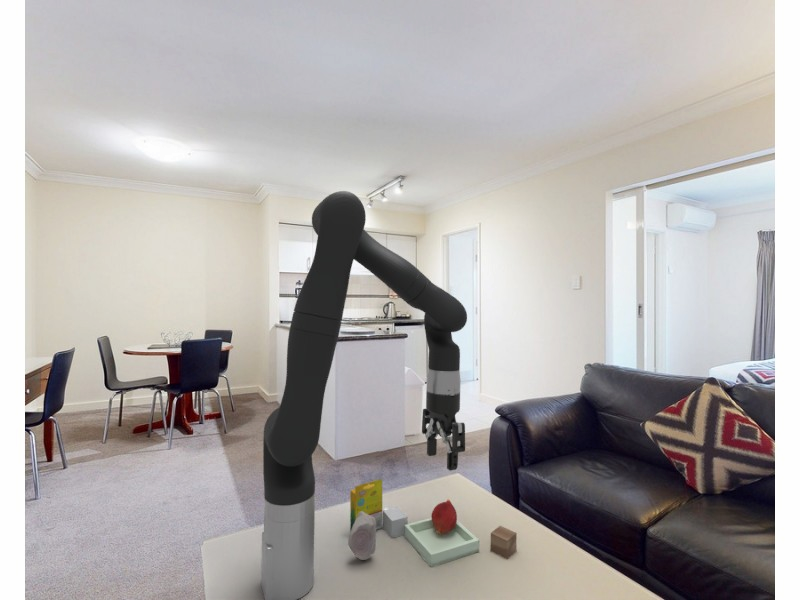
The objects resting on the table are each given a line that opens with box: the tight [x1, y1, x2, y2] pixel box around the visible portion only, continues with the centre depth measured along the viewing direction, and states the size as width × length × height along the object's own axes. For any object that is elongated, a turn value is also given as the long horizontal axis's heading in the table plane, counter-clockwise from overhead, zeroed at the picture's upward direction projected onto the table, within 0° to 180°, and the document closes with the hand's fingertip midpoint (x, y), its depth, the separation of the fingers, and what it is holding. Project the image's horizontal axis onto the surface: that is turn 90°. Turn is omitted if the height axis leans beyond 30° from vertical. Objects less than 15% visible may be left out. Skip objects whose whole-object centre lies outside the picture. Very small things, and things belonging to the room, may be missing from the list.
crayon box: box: [349, 478, 383, 532], centre depth 94 cm, size 7×3×12 cm, turn 123°
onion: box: [430, 499, 458, 534], centre depth 93 cm, size 6×6×8 cm
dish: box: [403, 517, 480, 568], centre depth 89 cm, size 12×12×2 cm
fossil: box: [347, 511, 377, 561], centre depth 83 cm, size 6×4×10 cm, turn 105°
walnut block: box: [489, 525, 517, 560], centre depth 87 cm, size 4×4×4 cm
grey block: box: [382, 506, 409, 539], centre depth 94 cm, size 4×5×4 cm
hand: (441, 462), depth 89 cm, fingers open, 8 cm apart
